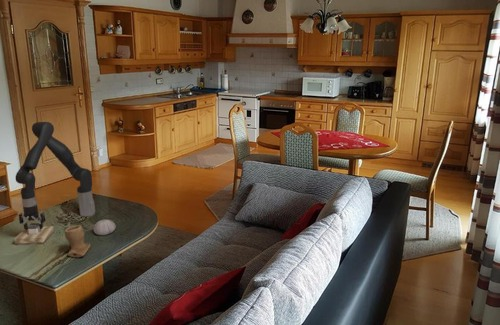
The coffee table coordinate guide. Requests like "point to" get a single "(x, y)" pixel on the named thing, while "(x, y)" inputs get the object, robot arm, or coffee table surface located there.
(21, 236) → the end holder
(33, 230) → the connector plug
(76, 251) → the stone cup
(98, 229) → the sea urchin shell
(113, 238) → the coffee table surface
